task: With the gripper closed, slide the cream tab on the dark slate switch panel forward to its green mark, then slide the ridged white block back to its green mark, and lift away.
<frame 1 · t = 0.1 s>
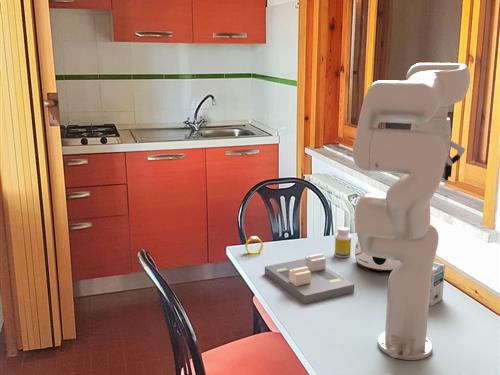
hand: (427, 177, 147), 37 cm above the table, tool pointing down, fingers open, 9 cm apart
light bulb box: (420, 298, 162), on the table
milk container: (380, 266, 185), on the table
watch: (254, 253, 196), on the table
supplement bottle: (342, 255, 194), on the table
cream tab: (299, 275, 165), point 5 cm above the table, slide at 0.0 cm
switch panel: (307, 282, 172), on the table
ridged white block: (315, 261, 176), point 5 cm above the table, slide at 7.0 cm
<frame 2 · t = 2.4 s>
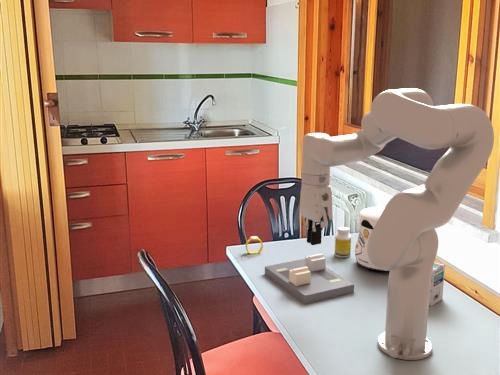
hand: (313, 242, 156), 17 cm above the table, tool pointing down, fingers closed
nothing on the table moved.
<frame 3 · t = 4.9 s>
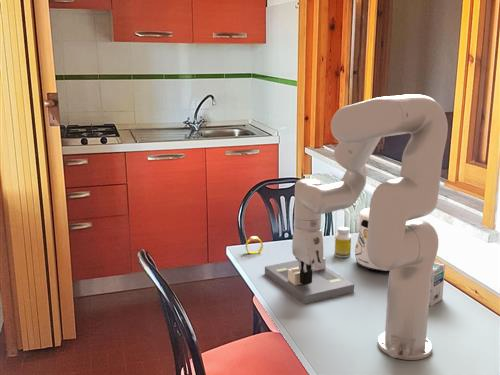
hand: (305, 282, 163), 4 cm above the table, tool pointing down, fingers closed
cream tab: (298, 274, 166), point 5 cm above the table, slide at 0.7 cm, touching gripper
everything else where it was.
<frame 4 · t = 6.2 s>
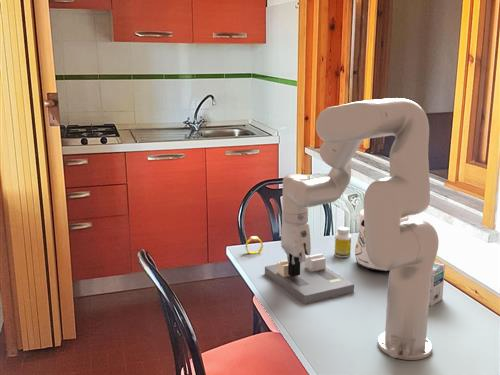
hand: (294, 274, 168), 4 cm above the table, tool pointing down, fingers closed
cream tab: (287, 266, 172), point 5 cm above the table, slide at 7.2 cm, touching gripper
everything else where it was.
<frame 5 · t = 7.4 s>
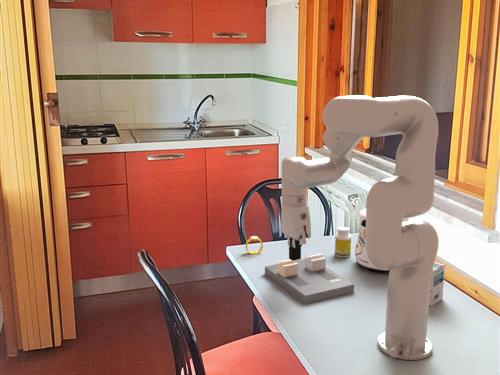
hand: (295, 259, 167), 9 cm above the table, tool pointing down, fingers closed
cream tab: (287, 267, 171), point 5 cm above the table, slide at 7.1 cm
everything else where it was.
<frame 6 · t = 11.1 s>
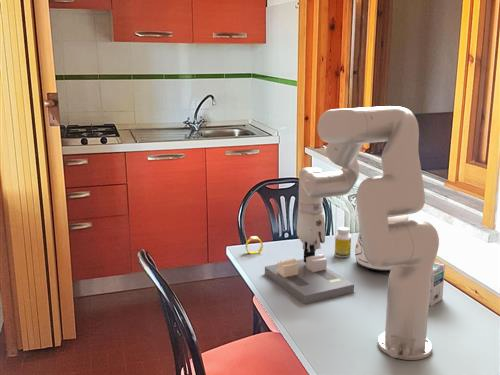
hand: (309, 261, 179), 3 cm above the table, tool pointing down, fingers closed
ridged white block: (316, 262, 175), point 5 cm above the table, slide at 6.5 cm, touching gripper
everything else where it was.
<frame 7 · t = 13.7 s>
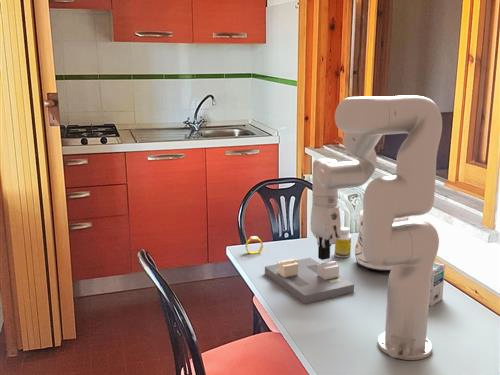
hand: (324, 258, 171), 8 cm above the table, tool pointing down, fingers closed
ridged white block: (328, 269, 170), point 5 cm above the table, slide at -0.1 cm
everything else where it was.
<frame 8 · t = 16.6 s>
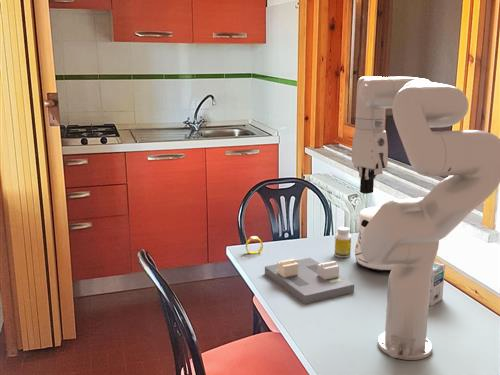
hand: (366, 192, 151), 32 cm above the table, tool pointing down, fingers closed
nothing on the table moved.
at the end: cream tab slide at 7.1 cm; ridged white block slide at -0.1 cm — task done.
